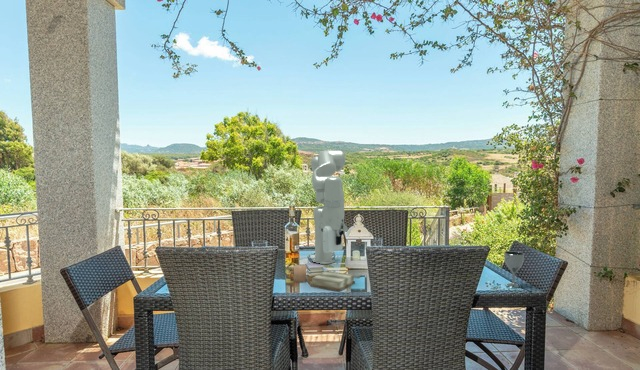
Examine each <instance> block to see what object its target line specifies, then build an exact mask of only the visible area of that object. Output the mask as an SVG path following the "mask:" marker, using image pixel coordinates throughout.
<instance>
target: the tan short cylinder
mask: <svg viewBox="0 0 640 370" xmlns="http://www.w3.org/2000/svg"><path fill="white" fill-rule="evenodd" d="M293 282H294V283H305V282H307V265H305V264H295V265H293Z"/></svg>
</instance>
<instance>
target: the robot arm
mask: <svg viewBox="0 0 640 370" xmlns="http://www.w3.org/2000/svg"><path fill="white" fill-rule="evenodd" d="M346 160H347V159H346V154H345V152H343V150H341V149H339V150H338V149H329V150H328V149H325V150H320V151H319V153H318V155H316V156H312V158H311V159H310V167H311V171H312V174H311V183H312V184H311V185H312V189H313V190H314V192H315V201H316V202H317V203H318V204H321V206H316V207H315V208H314V209H313V211H312V212H313V213H312V215H313V222H314V224H313V225H314V258H315V260H313V259H311V260H312V261H313V262H317V263H320V264H319V265H329V264H330V265H331V264H334V263H335V258H333V257H334V256H335V255H336V253H335V251H334V252H329V253H324V251H323V228H324V227H326V226H330V227H331V228H332V230H336V232H337V237H336V245H340V244H341V236H342V235H344V234H345V233H346V232H347V231H348V230H349V228H348V226H347V225H346V224H345V193H344V189H343V185H344V183H343V180H342V178H341V177H340V176H333V175H335V173H336V172H340V171H342V170H343V168H344V167H345V164H346ZM341 229H343V230H341ZM332 258H333V260H332ZM330 260H332V261H330ZM313 262H312V263H313Z"/></svg>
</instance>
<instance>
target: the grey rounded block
mask: <svg viewBox="0 0 640 370" xmlns="http://www.w3.org/2000/svg"><path fill="white" fill-rule="evenodd" d="M341 230H343V229H341ZM343 235H344V234H343ZM343 235H342V236H341V244H340V245H336V237H337V232H336V230H332V228H331V227H330V226H326V227H324V228H323V251H324V253H329V252H332V253H333V252H334V253H335V252H338V251H342V250H343V246H344V245H343V244H344V243H343V242H344V241H343V240H344V239H343Z"/></svg>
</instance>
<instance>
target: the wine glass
mask: <svg viewBox="0 0 640 370" xmlns="http://www.w3.org/2000/svg"><path fill="white" fill-rule="evenodd" d="M524 259H525V253H524V252H522V251H515V250H507V251H504V262H505V265H506V267H507V268H508V269H509V270H510V272H511V275H512V282H508V284H507V283H506V284H507V285H508V286H511V287H510V288H512V287H518V284H519V283H516V282H515V278H516V273H517V272H518V271H519V270H520V269H521V268H522V266H523V264H524ZM508 286H507V287H508Z"/></svg>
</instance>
